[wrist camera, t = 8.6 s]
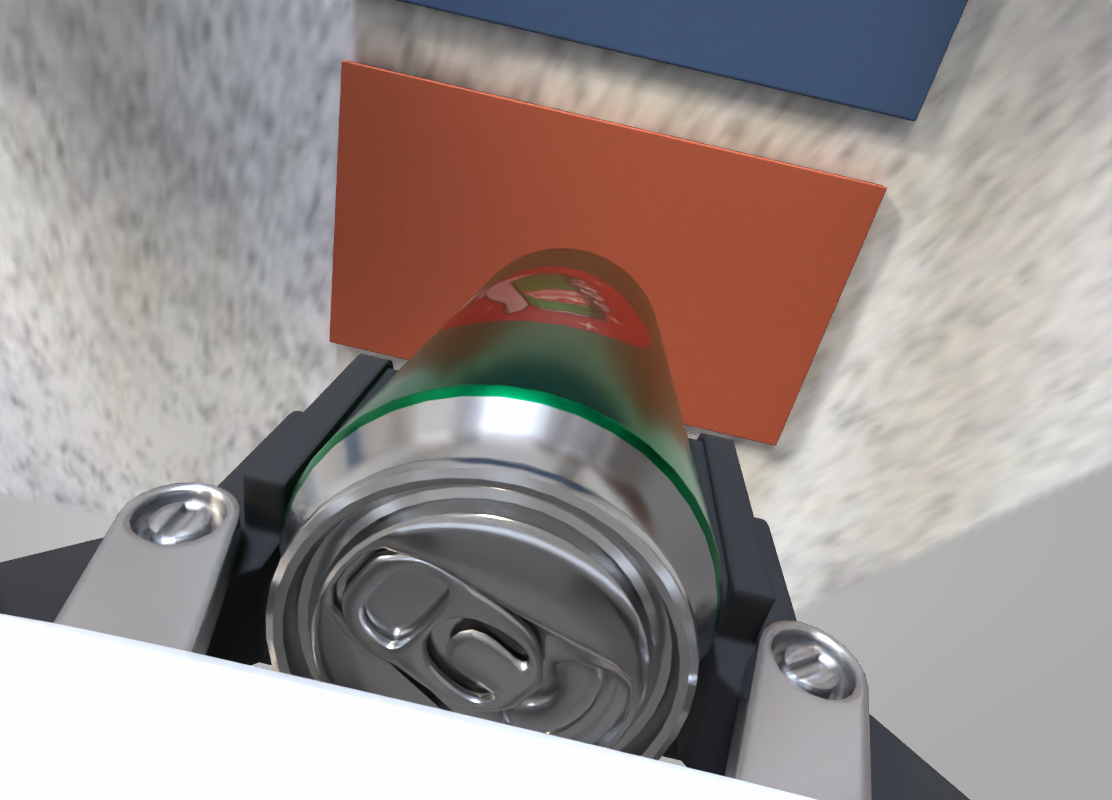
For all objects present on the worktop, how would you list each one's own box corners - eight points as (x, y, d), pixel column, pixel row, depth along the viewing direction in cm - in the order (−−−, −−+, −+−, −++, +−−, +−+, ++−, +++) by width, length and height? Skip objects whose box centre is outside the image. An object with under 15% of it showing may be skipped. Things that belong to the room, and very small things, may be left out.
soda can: (574, 460, 19) (516, 909, 8) (434, 348, 18) (138, 669, 7) (698, 331, 17) (858, 661, 6) (551, 202, 16) (417, 304, 5)
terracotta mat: (334, 337, 26) (328, 342, 25) (347, 60, 21) (341, 59, 21) (773, 439, 26) (776, 446, 26) (882, 185, 21) (887, 187, 21)
